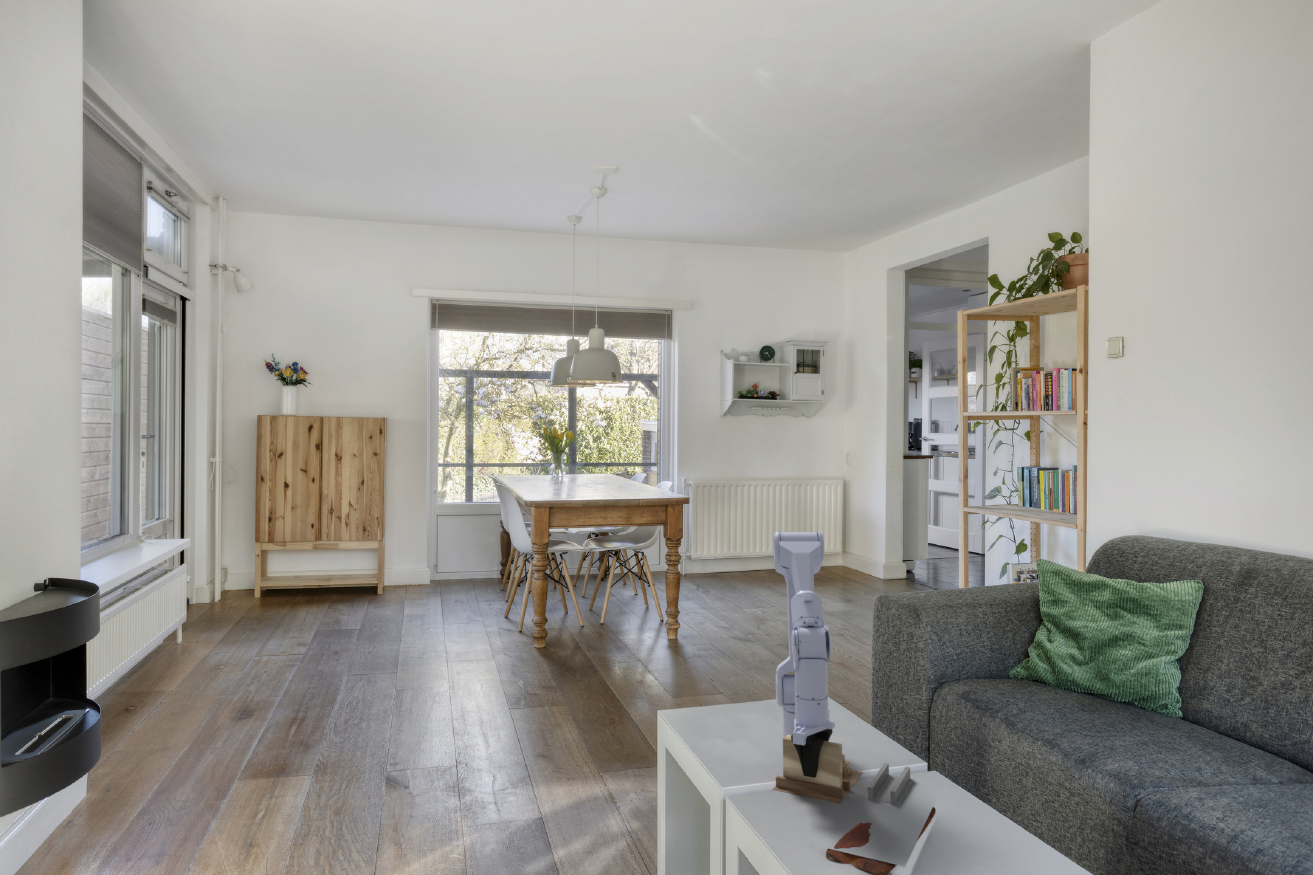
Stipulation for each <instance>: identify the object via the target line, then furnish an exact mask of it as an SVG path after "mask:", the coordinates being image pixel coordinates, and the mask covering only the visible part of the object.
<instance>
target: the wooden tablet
mask: <svg viewBox="0 0 1313 875" xmlns="http://www.w3.org/2000/svg"><path fill="white" fill-rule="evenodd" d="M936 811H937V809H936V808H935V807H934V806H933V807H932V808H931V811H930V812H929V814H928V815H927V818H926V820H925V823H924V825H923V827H922V829H921V831H920V833H919V835H918V838H917V839H916V843H917V842H918V841H919V840H920V838H921V836H922V835H923V834H924V832H926V829H927V828H928V826H929V825H930V824H931V822H932V820H933V819H934V817H935V814H936ZM872 824H873V823H872V822H865V823H863V822H859V823H858V824H856V826H854V827H853V828H851V829H850V830H849V831H847V832H846V833H844V835H842V836H841V838H840V839H838V841H837V842H836V844H835V845H834V846H833V848H827V850H826V852H825V857H826V859H828V860H830V861H833V862H836V863H839V864H844V865H852V866H853V867H854V868H855V869H858V870H860V871H862V872H864V873H867V874H871V875H887V874H889V873H890V872H891V871H892V870H894V869H895V868H896V867H897V866H898V864H897V863H896V864H895V863H893V862H892V863H891V862H886V861H884V860H883V861H882V860H878V859H876V858H870V857H867V856H863V855H862V856H861V855H857V854H853V853H849V852H844V851H840V850H839V849H852V848H862V847H863V846H866V845H867V844H868V843H869V842H870V838H871V834H872V833H870V829H872V828H871V826H872Z"/></svg>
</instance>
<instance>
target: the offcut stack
mask: <svg viewBox="0 0 1313 875" xmlns="http://www.w3.org/2000/svg"><path fill="white" fill-rule="evenodd" d="M845 757H846V756H845V754H843V753H842V778H844V779H846V777H847V776H848V775H849V774H850V772H851V770H852V768H851V767H852V766H850V761H849V760H845V759H846V758H845Z"/></svg>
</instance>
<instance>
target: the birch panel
mask: <svg viewBox="0 0 1313 875" xmlns="http://www.w3.org/2000/svg"><path fill="white" fill-rule="evenodd" d="M842 754H843V743H839V742H833V741H824V743H823V745H822V748H821V751H820V755H819V761H818V770H817V775H816V777H815V778H812V777H807V776H804V775H803V771H802V767H801V763H800V759H799V755H798V753H797V750H796V748H795V746H794V744H793V743H792V741H791V735H787V736H785V737H784V738H783V737H782V766H783V767H782V773H783V775H782V777H786V778H792V779H797V780H802V781H807V782H812V783H817V784H822V785H827V786H832V787H838V788H843V781H842Z"/></svg>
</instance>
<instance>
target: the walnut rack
mask: <svg viewBox="0 0 1313 875" xmlns="http://www.w3.org/2000/svg"><path fill="white" fill-rule="evenodd" d="M862 774H863V771H858V770H854V769H851V772H850V774H849V775H848V776H847V777H846V779H844V778H842V781H843V788H838V787H832V786H827V785H822V784H817V783H812V782H807V781H802V780H797V779H792V778H786V777H783V776H781V775H776V777H775V786H774V787H773V788H772V790H773V791H778V792H780V793H781V792H782V793H788V794H792V795H796V796H797V795H798V796H803V797H806V798H810V799H811V798H812V799H816V800H822V801H825V802H830V803H836V804H841V803H842V801H843V800H844V799H845V798H846V796H847V794H848V793H850V791H851V789H852V788H853V786H854V785H855V784H856V782H857V781H858V780H859V778H860V777H861V776H862Z"/></svg>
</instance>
